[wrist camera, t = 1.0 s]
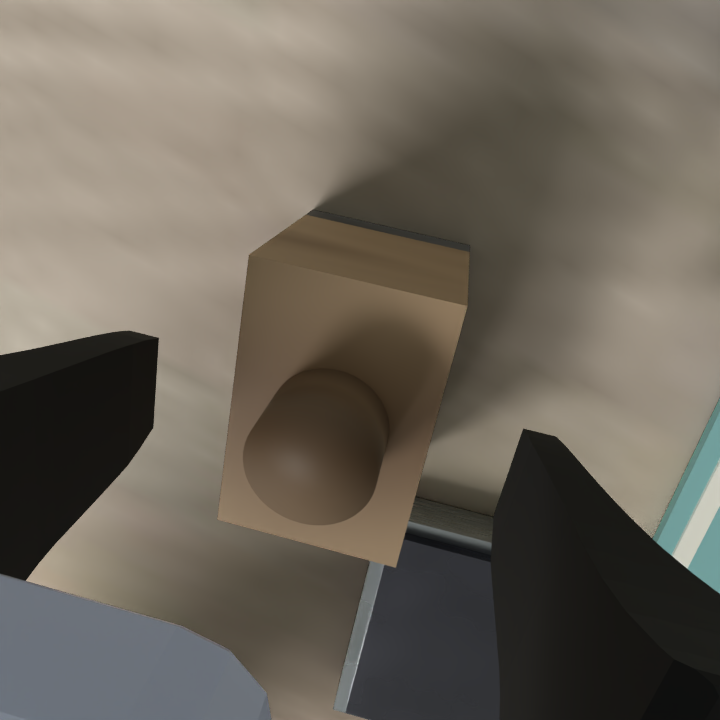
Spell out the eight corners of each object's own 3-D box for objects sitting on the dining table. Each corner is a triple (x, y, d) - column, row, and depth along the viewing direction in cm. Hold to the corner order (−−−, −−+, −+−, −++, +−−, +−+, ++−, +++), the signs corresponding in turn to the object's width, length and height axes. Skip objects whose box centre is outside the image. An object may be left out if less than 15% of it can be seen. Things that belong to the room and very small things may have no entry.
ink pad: (512, 727, 21) (514, 770, 20) (340, 678, 22) (331, 717, 21) (591, 542, 18) (601, 578, 17) (387, 489, 19) (380, 520, 17)
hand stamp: (415, 448, 18) (386, 625, 12) (281, 414, 18) (187, 569, 12) (470, 244, 16) (465, 337, 10) (313, 209, 16) (215, 278, 10)
